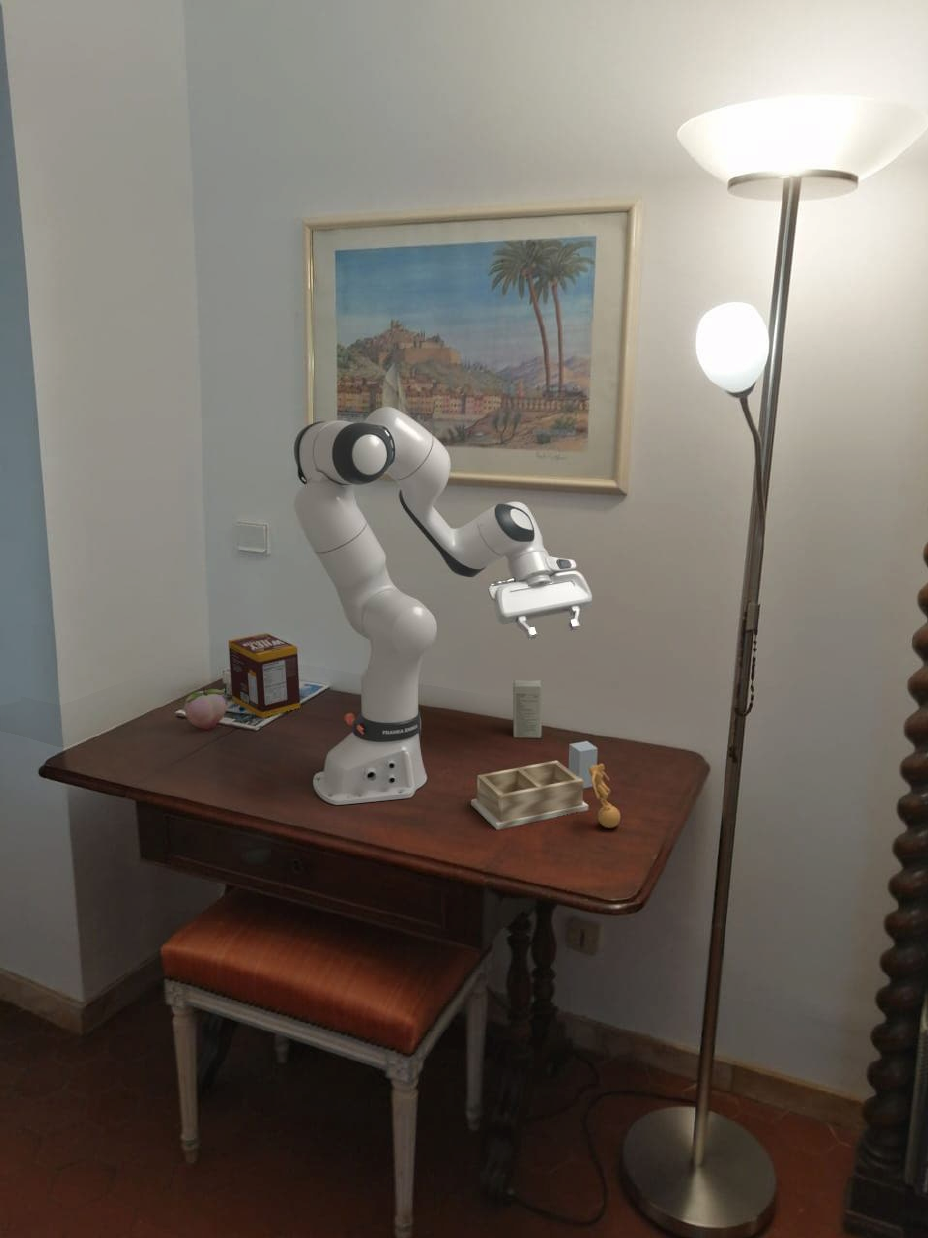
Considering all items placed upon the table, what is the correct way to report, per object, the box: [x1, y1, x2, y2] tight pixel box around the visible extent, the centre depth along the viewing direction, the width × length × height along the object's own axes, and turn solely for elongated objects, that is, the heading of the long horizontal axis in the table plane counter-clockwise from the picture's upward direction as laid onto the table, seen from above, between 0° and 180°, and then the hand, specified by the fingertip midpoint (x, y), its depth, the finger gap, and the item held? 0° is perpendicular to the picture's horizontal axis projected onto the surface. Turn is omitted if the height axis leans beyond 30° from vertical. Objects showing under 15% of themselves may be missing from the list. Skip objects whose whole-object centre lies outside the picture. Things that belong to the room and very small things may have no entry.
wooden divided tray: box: [470, 760, 589, 831], centre depth 182 cm, size 19×11×6 cm, turn 114°
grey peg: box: [568, 740, 599, 789], centre depth 192 cm, size 4×4×8 cm
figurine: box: [589, 763, 621, 829], centre depth 175 cm, size 8×6×12 cm
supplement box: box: [228, 632, 301, 719], centre depth 233 cm, size 10×15×16 cm
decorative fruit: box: [183, 687, 228, 730], centre depth 218 cm, size 9×8×10 cm
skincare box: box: [512, 679, 543, 739], centre depth 216 cm, size 6×4×12 cm
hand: (554, 633), depth 196 cm, fingers open, 8 cm apart
